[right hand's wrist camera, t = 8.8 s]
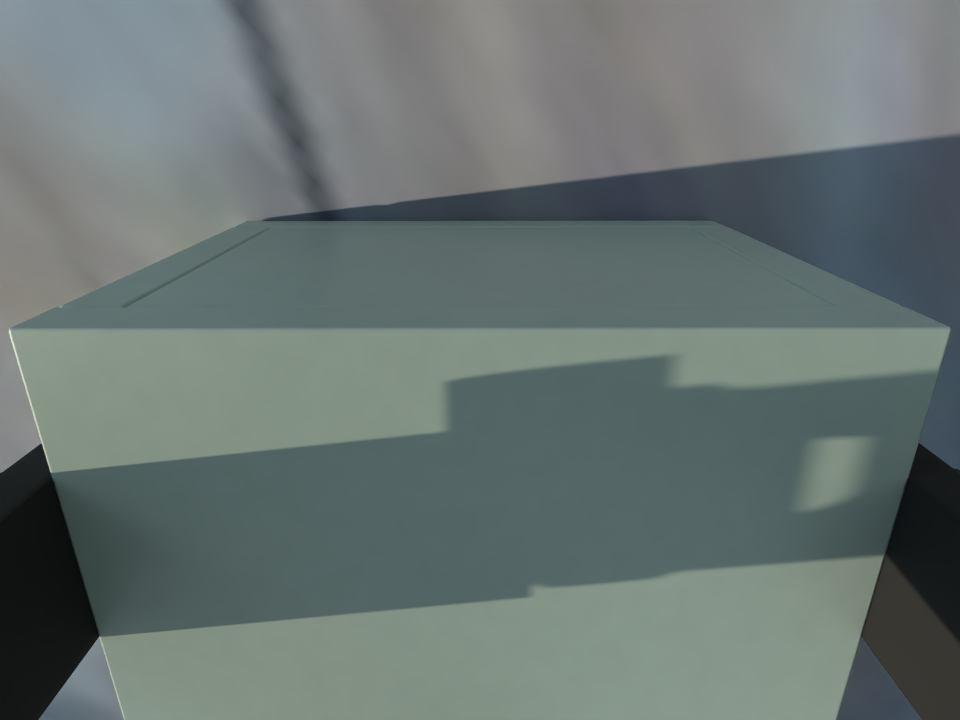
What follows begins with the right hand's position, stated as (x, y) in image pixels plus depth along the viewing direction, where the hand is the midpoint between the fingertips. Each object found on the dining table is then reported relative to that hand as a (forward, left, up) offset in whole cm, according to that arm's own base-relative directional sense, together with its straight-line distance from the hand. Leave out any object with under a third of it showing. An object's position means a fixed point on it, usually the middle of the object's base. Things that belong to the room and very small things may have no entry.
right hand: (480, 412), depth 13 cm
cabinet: (+3, +4, -3) cm, 6 cm away
